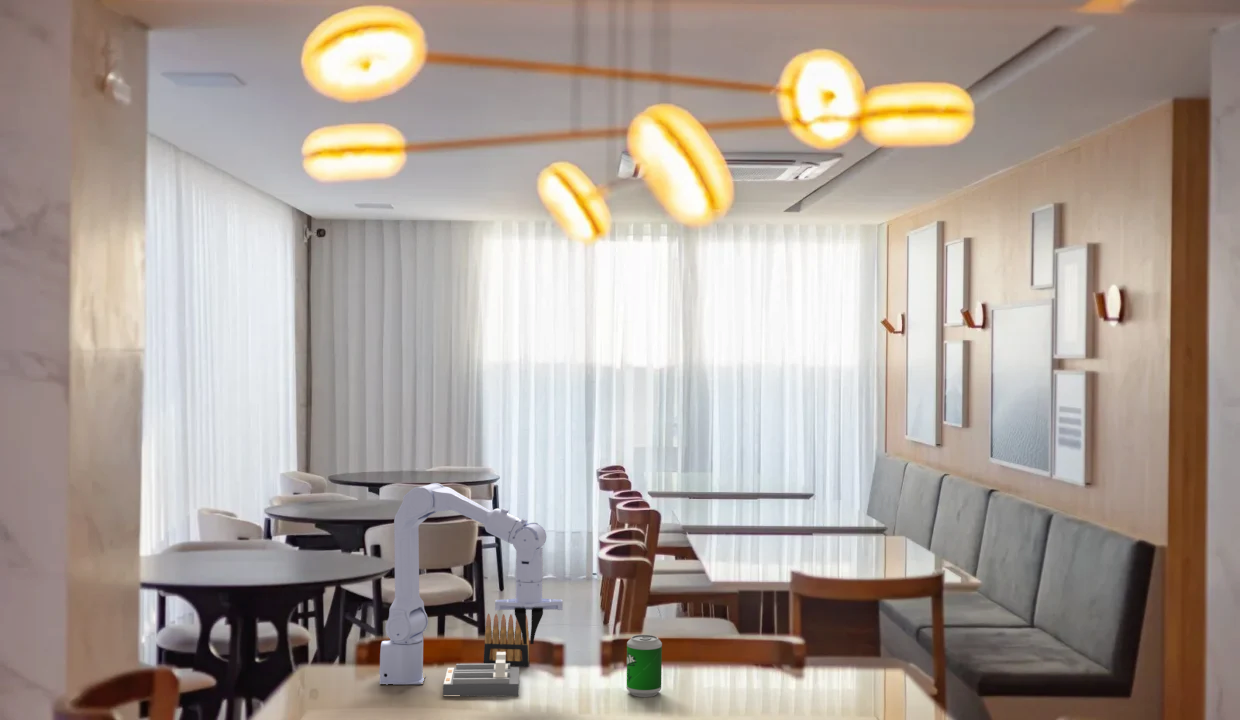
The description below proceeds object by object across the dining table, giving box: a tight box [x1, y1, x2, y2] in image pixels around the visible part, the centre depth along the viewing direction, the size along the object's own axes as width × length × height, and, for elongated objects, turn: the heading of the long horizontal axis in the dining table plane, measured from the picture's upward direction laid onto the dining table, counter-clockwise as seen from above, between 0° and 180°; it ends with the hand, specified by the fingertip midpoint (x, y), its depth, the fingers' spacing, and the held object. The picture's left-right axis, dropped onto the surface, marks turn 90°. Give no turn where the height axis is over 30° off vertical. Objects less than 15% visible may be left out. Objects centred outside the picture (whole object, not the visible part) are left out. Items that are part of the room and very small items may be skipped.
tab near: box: [493, 660, 507, 678], centre depth 258 cm, size 3×4×4 cm
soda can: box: [626, 634, 663, 698], centre depth 258 cm, size 8×8×12 cm
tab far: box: [494, 651, 508, 669], centre depth 265 cm, size 3×4×4 cm
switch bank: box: [442, 663, 520, 697], centre depth 261 cm, size 16×14×4 cm
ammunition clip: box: [482, 613, 531, 668], centre depth 281 cm, size 11×2×12 cm, turn 86°
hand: (528, 643), depth 258 cm, fingers closed
